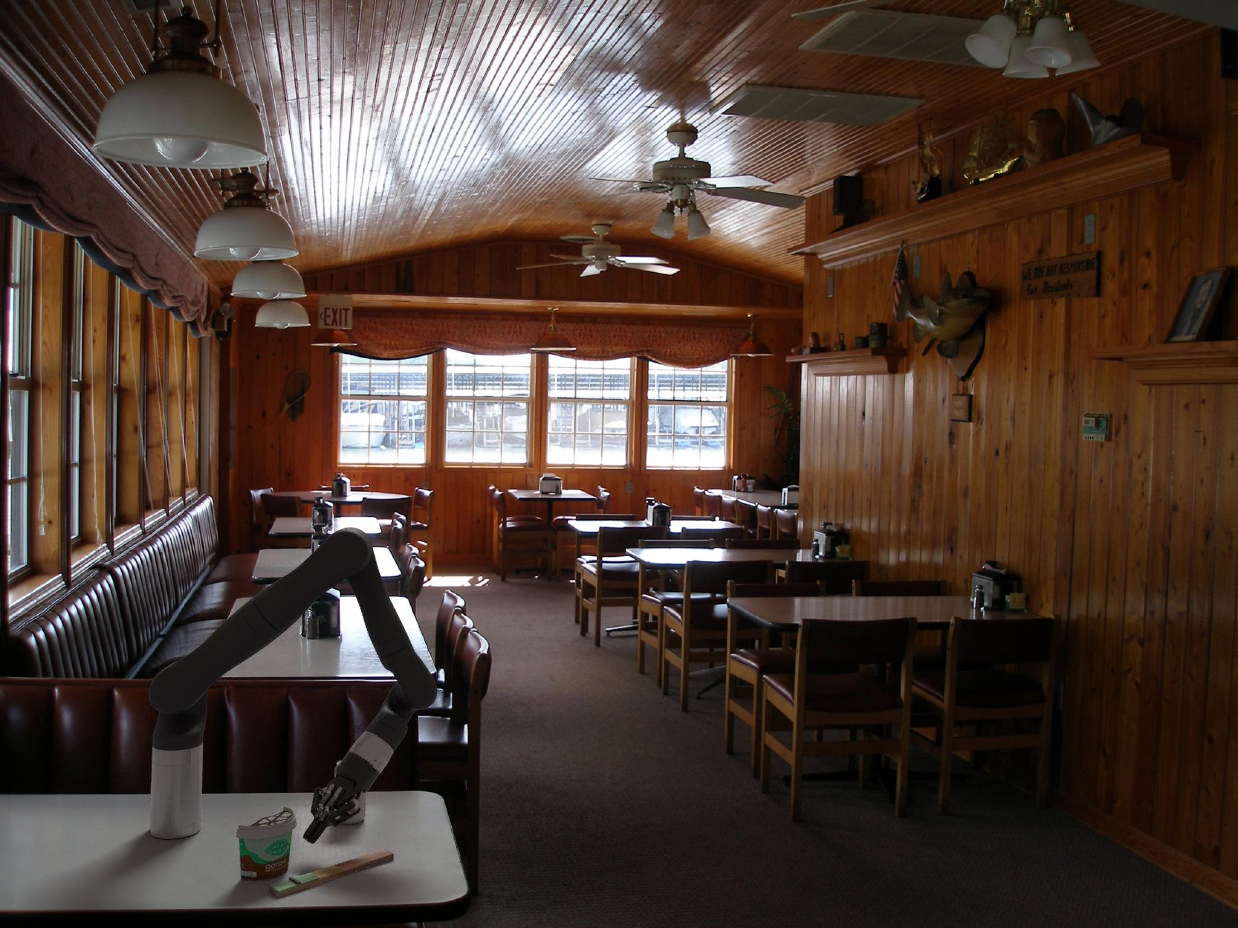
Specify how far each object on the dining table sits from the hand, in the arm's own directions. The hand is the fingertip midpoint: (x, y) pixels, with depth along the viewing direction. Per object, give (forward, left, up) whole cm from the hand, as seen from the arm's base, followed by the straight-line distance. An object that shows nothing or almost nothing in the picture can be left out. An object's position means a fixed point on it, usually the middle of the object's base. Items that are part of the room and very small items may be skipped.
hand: (307, 840), depth 197 cm
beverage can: (-13, +18, -4) cm, 23 cm away
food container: (0, -7, -4) cm, 8 cm away
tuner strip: (+8, 0, -4) cm, 9 cm away
